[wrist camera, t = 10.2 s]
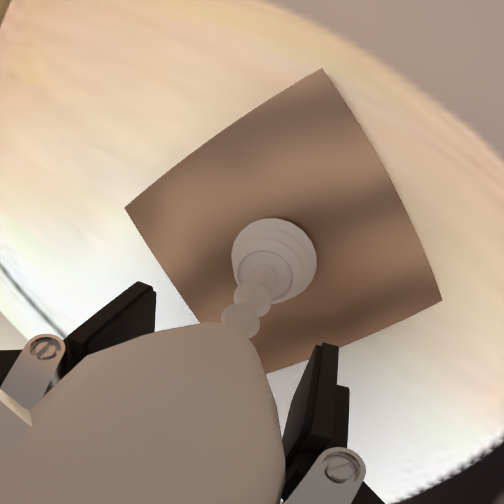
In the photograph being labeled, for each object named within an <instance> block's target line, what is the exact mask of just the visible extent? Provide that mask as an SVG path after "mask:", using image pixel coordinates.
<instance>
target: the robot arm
mask: <svg viewBox="0 0 504 504" xmlns="http://www.w3.org/2000/svg"><path fill="white" fill-rule="evenodd" d="M155 310H156V292H155V291H153V287H152V286H150V285H147V284H145V283H142V282H139V281H138V282H136V283H135V284H133V285H132V286H131V287H129V288H128V289H127V290H125V291H124V292H123V293H121V294H120V295H119V296H118V297H116V298H115V299H114V300H112V301H111V302H110V303H108V304H107V305H106V306H105V307H103V308H102V309H101V310H99V311H98V312H97V313H96V314H94V315H93V316H92V317H91V318H89V319H88V320H87V321H86V322H84V323H83V324H82V325H80V326H79V327H78V328H77V329H75V330H74V331H73V332H72V333H71V334H69V335H68V337H66V338H65V339H64V340H62V339H60V338H59V337H58V336H55V335H52V334H41V335H38V336H35V337H33V338H32V339H30V340H29V342H28V343H27V344H26V346H25V347H24V349H23V350H0V462H1V461H2V459H3V458H4V457H5V456H6V455H7V454H8V453H9V452H10V451H11V450H12V449H13V447H14V446H15V445H16V444H17V443H18V442H19V441H20V440H21V439H22V438H23V437H24V436H25V435H26V434H27V432H28V431H29V430H30V429H31V428H32V420H31V415H30V413H29V412H28V411H29V410H30V409H31V408H32V407H33V406H34V405H35V404H36V403H37V402H38V401H39V400H40V399H41V398H43V397H44V396H45V395H46V394H47V393H48V392H49V391H50V390H51V389H52V388H53V387H54V386H55V385H56V384H57V383H58V382H59V381H60V380H61V379H62V378H63V377H65V376H66V375H67V374H68V373H69V372H70V371H71V370H72V369H73V368H74V367H75V366H76V365H77V364H78V363H79V362H81V361H82V360H83V359H84V358H85V357H86V356H87V355H90V354H93V353H95V352H98V351H101V350H104V349H107V348H109V347H112V346H115V345H118V344H120V343H123V342H126V341H129V340H131V339H134V338H137V337H139V336H142V335H146V334H150V333H154V331H155ZM338 352H339V347H338V346H336V345H332V344H328V343H325V342H323V343H322V345H321V346H320V345H315V347H314V350H313V352H312V354H311V357H310V359H309V362H308V364H307V366H306V369H305V371H304V373H303V376H302V378H301V380H300V383H299V385H298V387H297V390H296V392H295V394H294V396H293V399H292V402H291V405H290V410H289V414H288V418H287V422H286V426H285V430H284V434H283V438H282V444H283V450H284V456H285V484H284V488H283V492H282V496H281V498H282V499H283V502H282V504H385V503H384V502H383V501H382V500H381V499H380V498H379V497H378V496H377V495H376V494H375V493H374V492H373V491H372V490H371V489H370V488H369V487H368V485H367V484H366V483H365V482H364V481H363V480H364V477H365V474H366V468H365V464H364V462H363V460H362V458H361V457H360V456H359V455H358V454H357V453H355V452H354V451H352V450H350V449H347V441H348V423H349V395H350V392H349V388H348V387H344V386H340V385H337V371H338Z"/></svg>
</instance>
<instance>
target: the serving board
mask: <svg viewBox="0 0 504 504" xmlns="http://www.w3.org/2000/svg"><path fill="white" fill-rule="evenodd" d="M125 210H126V211H127V213H128V215H129V216H130V218H131V220H132V221H133V223H134V224H135V226H136V228H137V229H138V231H139V233H140V234H141V236H142V237H143V239H144V240H145V242H146V244H147V245H148V247H149V248H150V250H151V251H152V253H153V255H154V256H155V258H156V259H157V261H158V262H159V264H160V265H161V267H162V268H163V270H164V271H165V273H166V274H167V276H168V277H169V279H170V280H171V282H172V283H173V285H174V286H175V288H176V289H177V291H178V292H179V293H180V295H181V296H182V298H183V299H184V301H185V302H186V304H187V305H188V306H189V308H190V309H191V311H192V312H193V313H194V315H195V316H196V318H197V319H198V320H199V322H200V323H205V322H216V323H222V319H221V317H222V313H223V311H224V309H225V308H226V307H228V306H229V305H231V304H235V303H234V292H235V290H236V288H237V287H238V284H237V282H236V280H235V278H234V271H233V266H232V257H231V254H232V249H233V244H234V241H235V240H236V238H237V236H238V235H239V233H240V232H241V231H242V230H243V229H244V228H245V227H247V226H248V225H249V224H250V223H253V222H256V221H258V220H261V219H271V218H278V219H281V220H284V221H288V222H291V223H293V224H294V225H295V226H297V227H298V228H300V229H301V230H303V231H304V233H305V234H306V235H307V236H308V238H309V239H310V240H311V241H312V244H313V247H314V249H315V252H316V261H317V268H316V271H315V274H314V277H313V280H312V282H311V283H310V284H309V285H308V287H307V288H306V289H305V290H304V291H303V292H301V293H300V294H298V295H297V296H295V297H293V298H290V299H288V300H286V301H284V302H280V303H277V304H271V307H270V310H269V311H268V312H267V313H266V314H265V315H263V316H261V317H258V318H259V320H260V328H259V331H258V332H257V334H256V335H255V336H253V337H252V338H249V340H250V341H251V342H252V344H253V345H254V346H255V348H256V351H257V353H258V355H259V358H260V360H261V363H262V366H263V369H264V372H265V374H267V373H270V372H273V371H276V370H279V369H282V368H285V367H288V366H291V365H294V364H297V363H299V362H302V361H305V360H308V359H310V357H311V354H312V352H313V350H314V347H315V345H320V346H321V345H322V343H323V342H325V343H328V344H332V345H336V346H338V347H342V346H344V345H347V344H349V343H352V342H354V341H356V340H359V339H361V338H364V337H366V336H368V335H371V334H373V333H375V332H377V331H380V330H382V329H384V328H386V327H389V326H391V325H393V324H395V323H397V322H400V321H402V320H404V319H406V318H408V317H410V316H412V315H414V314H416V313H418V312H420V311H422V310H424V309H427V308H428V307H430V306H432V305H434V304H436V303H438V302H440V301H442V297H441V294H440V292H439V289H438V286H437V283H436V281H435V278H434V275H433V273H432V270H431V268H430V265H429V263H428V260H427V258H426V255H425V253H424V250H423V248H422V245H421V243H420V241H419V238H418V236H417V234H416V232H415V229H414V227H413V225H412V223H411V221H410V218H409V216H408V214H407V212H406V210H405V208H404V206H403V204H402V202H401V199H400V197H399V195H398V193H397V191H396V189H395V187H394V185H393V184H392V182H391V180H390V178H389V176H388V174H387V172H386V170H385V168H384V166H383V165H382V163H381V161H380V159H379V157H378V156H377V154H376V152H375V150H374V148H373V147H372V145H371V143H370V142H369V140H368V138H367V136H366V135H365V133H364V131H363V130H362V128H361V126H360V125H359V123H358V122H357V120H356V118H355V117H354V115H353V114H352V112H351V110H350V109H349V107H348V106H347V104H346V103H345V101H344V100H343V98H342V97H341V95H340V94H339V92H338V91H337V89H336V88H335V86H334V85H333V83H332V82H331V80H330V79H329V78H328V76H327V75H326V73H325V72H324V71H323V69H322V68H321V69H319V70H317V71H316V72H314V73H312V74H310V75H309V76H307V77H305V78H304V79H302V80H300V81H298V82H297V83H295V84H293V85H292V86H290V87H289V88H287V89H285V90H284V91H282V92H280V93H279V94H277V95H276V96H274V97H272V98H271V99H269V100H268V101H266V102H265V103H263V104H261V105H260V106H258V107H257V108H255V109H254V110H252V111H251V112H249V113H248V114H246V115H245V116H243V117H242V118H240V119H239V120H237V121H236V122H234V123H233V124H232V125H230V126H229V127H227V128H226V129H224V130H223V131H222V132H220V133H219V134H217V135H216V136H214V137H213V138H212V139H210V140H209V141H208V142H206V143H205V144H203V145H202V146H201V147H199V148H198V149H197V150H195V151H194V152H193V153H191V154H190V155H189V156H187V157H186V158H185V159H183V160H182V161H181V162H180V163H178V164H177V165H176V166H174V167H173V168H172V169H171V170H169V171H168V172H167V173H166V174H164V175H163V176H162V177H161V178H159V179H158V180H157V181H156V182H154V183H153V184H152V185H151V186H149V187H148V188H147V189H146V190H145V191H143V192H142V193H141V194H140V195H139V196H138V197H136V198H135V199H134V200H133V201H132V202H130V203H129V204H128V205H127V206H126V207H125Z"/></svg>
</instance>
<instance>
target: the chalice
mask: <svg viewBox="0 0 504 504" xmlns="http://www.w3.org/2000/svg"><path fill="white" fill-rule="evenodd" d="M231 257H232V266H233V271H234V278H235V280H236V282H237V284H238V287H237V288H236V290H235V292H234V303H235V304H231V305H229V306H228V307H226V308H225V309H224V311H223V313H222V317H221V319H222V323H216V322H205V323H200V324H195V325H189V326H184V327H178V328H173V329H167V330H162V331H158V332H154V333H150V334H146V335H142V336H139V337H137V338H134V339H131V340H129V341H126V342H123V343H120V344H118V345H115V346H112V347H109V348H107V349H104V350H101V351H98V352H95V353H93V354H90V355H87V356H86V357H85V358H84V359H83V360H82V361H81V362H79V363H78V364H77V365H76V366H75V367H74V368H73V369H72V370H71V371H70V372H69V373H68V374H67V375H66V376H65V377H63V378H62V379H61V380H60V381H59V382H58V383H57V384H56V385H55V386H54V387H53V388H52V389H51V390H50V391H49V392H48V393H47V394H46V395H45V396H44V397H43V398H41V399H40V400H39V401H38V402H37V403H36V404H35V405H34V406H33V407H32V408H31V409H30V410H29V411H28V412H29V413H30V415H31V420H32V428H31V429H30V430H29V431H28V432H27V434H26V435H25V436H24V437H23V438H22V439H21V440H20V441H19V442H18V443H17V444H16V445H15V446H14V447H13V449H12V450H11V451H10V452H9V453H8V454H7V455H6V456H5V457H4V458H3V459H2V461H1V462H0V504H280V500H281V496H282V492H283V488H284V484H285V456H284V450H283V444H282V437H281V431H280V425H279V419H278V412H277V406H276V403H275V400H274V397H273V394H272V392H271V389H270V386H269V383H268V380H267V378H266V375H265V372H264V369H263V366H262V363H261V360H260V358H259V355H258V353H257V351H256V348H255V346H254V345H253V344H252V342H251V341H250V340H249V338H252V337H253V336H255V335H256V334H257V332H258V331H259V328H260V320H259V318H258V317H261V316H263V315H265V314H266V313H267V312H268V311H269V310H270V307H271V304H277V303H280V302H284V301H286V300H288V299H290V298H293V297H295V296H297V295H298V294H300V293H301V292H303V291H304V290H305V289H306V288H307V287H308V285H309V284H310V283H311V282H312V280H313V277H314V274H315V271H316V268H317V261H316V252H315V249H314V247H313V244H312V241H311V240H310V239H309V238H308V236H307V235H306V234H305V233H304V231H303V230H301V229H300V228H298V227H297V226H295V225H294V224H293V223H291V222H288V221H284V220H281V219H278V218H271V219H261V220H258V221H256V222H253V223H250V224H249V225H248V226H247V227H245V228H244V229H243V230H242V231H241V232H240V233H239V235H238V236H237V238H236V240H235V241H234V244H233V249H232V254H231Z"/></svg>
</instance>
